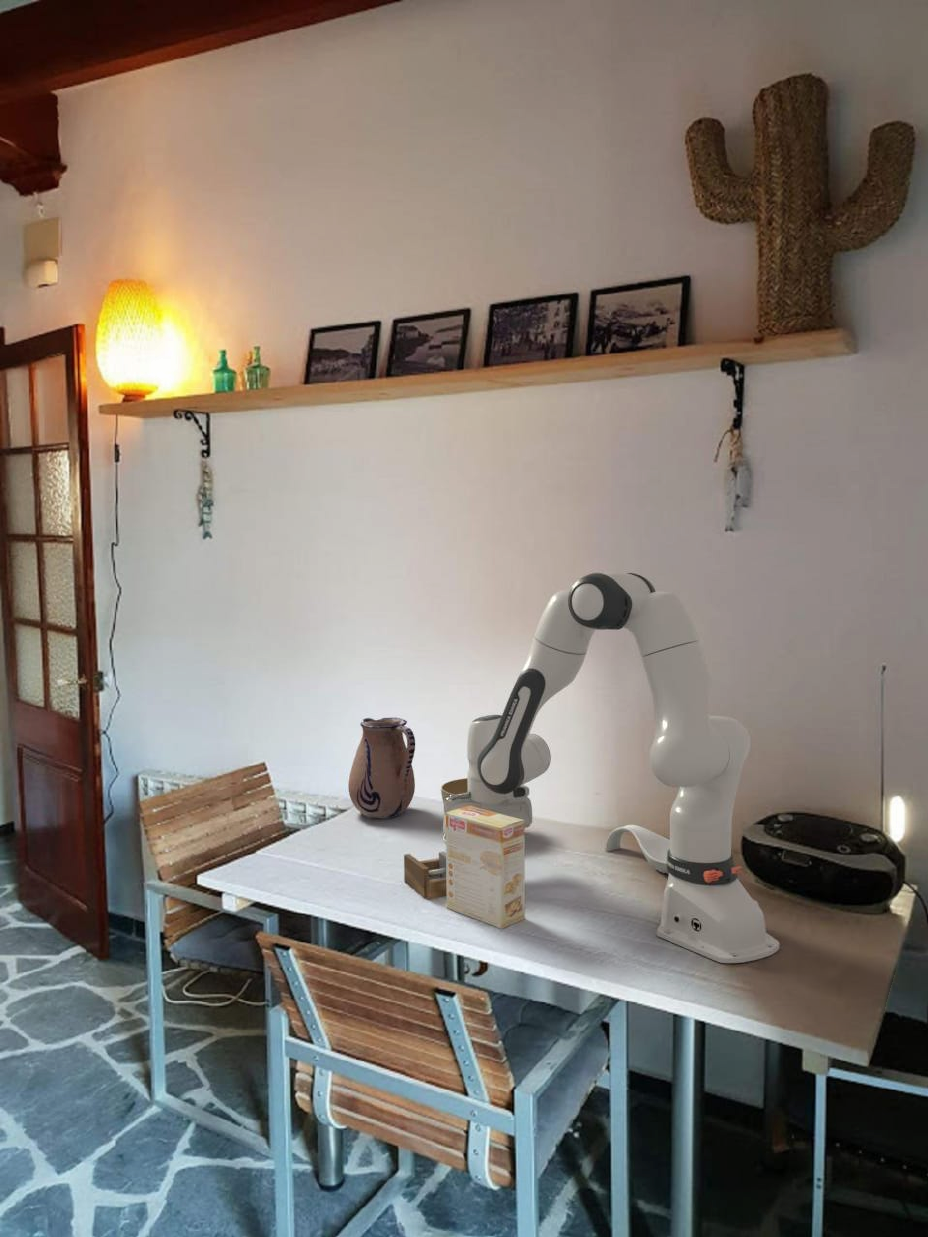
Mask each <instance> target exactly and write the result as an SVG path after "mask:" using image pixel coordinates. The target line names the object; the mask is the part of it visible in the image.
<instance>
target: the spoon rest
mask: <svg viewBox="0 0 928 1237" xmlns="http://www.w3.org/2000/svg"><path fill="white" fill-rule="evenodd" d="M625 832H626V833H630V834H632V835H633V836H634V837H635V838H636V841H637V843H638V845H639V848H640V849H641V852H642V853H643V855H644V857H645V859H646V860H647V862H648V864H649V865H650V866H651V867H652V868H653V869H655V870H656V871H657V870H658V871H657V872H660V873H661V872H662V874H665V873H666V875H669V872H668V871H667V861H666V860H667V852H668V850H669V849H670V838H666V837H665V836H662V835H660V834H658V833H656V832H653V831H652V830H649V829H648V828H645V827H642V826H640V825H636V824H627V825H624V826H621V827H616V828H615V829H613V830H612V831H611V832H610V833H609V835H608V837H607V838H606V841H605V846H604V851H605V852H612V851H615V850H619V849H620V847H621V838H622V835H623V833H625Z"/></svg>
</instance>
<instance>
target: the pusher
mask: <svg viewBox="0 0 928 1237" xmlns="http://www.w3.org/2000/svg"><path fill="white" fill-rule="evenodd" d="M438 858H439V869H436V870H431V871H429V875H430V876H431V875H436V874H439V875H440V876H439V877H441V878H445V877H446V851H439V852H438Z"/></svg>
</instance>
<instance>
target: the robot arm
mask: <svg viewBox="0 0 928 1237" xmlns="http://www.w3.org/2000/svg"><path fill="white" fill-rule="evenodd" d="M621 629H625V630H627V631H629V632H631V634H632V635H633V638H634V639H635V641H636V644H637V648H638V650H639V651H638V652H639V654H640V658H641V661H642V663H643V664H642V665H643V668H644V671H645V675H646V678H647V679H646V680H647V681H648V686H649V690H650V692H651V698H652V703H653V713H654V714H653V715H654V735H653V736H654V737H653V742H652V744H651V747H650V750H649V755H648V756H649V758H648V759H649V766H650V769H651V771H652V773H653V776H655V778H657V780H658V781H659V782H661V783H662V784H663V785H666V786H668V787H670V788H675V789H676V788H679V789H678V791H677V795H676V796H675V797H676V798H675V800H674V801H673V803H672V805H671V809H670V812H669V840H670V849H669V850H668V852H667V860H666V861H667V871H668V872H669V874H668V878H667V882H666V885H665V888H664V893H663V901H662V910H661V918H660V920H659V926H658V928H657V929H656V936H658V937H659V938H660V939H663V940H666V941H668V942H670V943H674V944H675V945H678V946H680V947H683V948H684V949H687V950H690V951H692V952H694V953H695V954H696V953H697V954H699V955H701V956H703V957H705V958H708V959H711V960H713V961H715V962H718V963H721V964H739V963H746V962H747V963H748V962H751V961H752V962H753V961H757V960H760V959H763V958H767V957H770V956H772V955H774V954H776V953H777V952H778V951H779V950H780V942H779V940H777V939H776V938H774V937H773V936H771V935H770V934H769V933H767V931H766V930H767V929H766V920H765V915H764V912H763V911H762V909H761V908H760V906H759V902H758V901H757V900H755V899H753V898H752V897H751V895H750V894H749V892H748V891H747V890H746V888H745V887H744V886H743V884H742V883H741V882H740V880H739V874H738V873H742V872H743V871H742V870H740V869H742V867H743V866H742V865H739V866H736V862H735V860H734V855H733V854H732V828H733V827H732V823H733V822H732V821H733V820H732V819H733V811H734V807H735V806H734V805H735V801H736V800H735V799H736V796H737V792H738V786H739V784H740V778H741V775H742V774H741V773H742V769H743V766H744V763H745V761H746V759H747V757H748V755H749V753H750V750H751V744H752V743H751V737H750V735H749V734H750V733H749V732H748V730H747V728H746V726H744V725H743V723H742V722H741V721H739V720H737V719H735V718H734V717H730V716H725V715H724V716H723V715H710V710H709V707H710V706H709V693H710V690H711V687H712V677H711V675H710V674H711V673H710V672H709V668H708V664H707V662H706V659H705V656H704V653H703V652H704V651H703V649H702V645H701V643H700V639H699V636H698V634H697V631H696V628H695V626H694V623H693V620H692V618H691V617H690V614H689V612H688V610H687V608H686V606H685V605H684V603H683V601H682V599H681V598H680V597H679V596H678V595H677V594H675V593H674V592H670V591H664V590H663V591H662V590H658V591H657V590H656V589H655V586H654V585H653V584H652V582H651V581H649V580H648V578H646V577H644V576H642V575H641V574H637V573H634V572H619V571H614V570H613V571H604V572H592V573H588V574H586V575H584V576H582V577H580V578H579V579H578V580H576V581H575V583H574V584H572V587H571V588H570V589H563V590H559V591H557V592H555V593H554V594H553V595H552V596H551V597H550V599H549V600H548V603H547V604H546V605H545V608H544V611H542V615H541V617H540V619H539V622H538V624H537V626H536V630H535V632H534V635H533V639H532V641H531V644H530V648H529V650H528V653H527V656H526V660H525V662H524V665H523V666H522V669H521V671H520V673H519V676H518V677H517V680H516V681H515V683H514V686H513V688H512V690H511V693H510V694H509V697H508V700H507V702H506V705H505V707H504V709H503V711H502V714H491V715H484V716H479V717H477V718H475V719H474V720H472V721H471V723H470V724H469V727H468V733H467V747H466V748H467V749H466V750H467V752H466V754H467V755H466V757H467V760H468V771H467V776H466V778H467V788H468V792H467V793H461V794H457V795H456V794H453V795H450V797H449V798H447V799H446V800H445V801H444V803H443V823H442V833H443V835H444V834H445V835H446V812H449V811H452V810H456V809H459V808H462V807H466V806H472V807H476V808H480V809H484V810H488V811H491V812H495V813H499V814H503V815H506V816H510V817H514V818H518V819H522V820H525V822H524V829H527V828H530V827H531V825H532V824H533V806H532V802H531V799H530V798H529V796H530V788H529V786H526V785H525V784H527V783H529V782H531V781H533V780H534V779H537V778H538V777H540V776H542V775H543V774H544V773H546V772H547V771H548V770H549V767H550V765H551V759H552V758H551V757H552V756H551V751H550V750H551V749H550V748H549V746H548V744H547V742H546V740H544V738H542V737H541V736H540V735H537V734H533V733H530V732H531V730H532V728H533V725H534V722H535V720H536V718H537V715H538V714H539V711H541V709H542V707H543V706H544V705H545V704H546V703H548V701H549V700H550V699H551V698H552V697H554V696H555V695H556V694H559V692H561V691H562V690H563V689H566V687H568V686H569V685H571V684H572V683H573V682H574V680H575V679H576V677H577V675H578V673H579V672H580V670H581V668H582V666H583V663H584V660H585V658H586V655H587V652H588V650H589V646H590V642H591V641H592V640H591V639H592V637H593V635H594V633H595V632H596V631H599V630H605V631H607V630H612V631H613V630H614V631H615V630H616V631H617V630H621ZM449 799H450V800H449Z"/></svg>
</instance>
